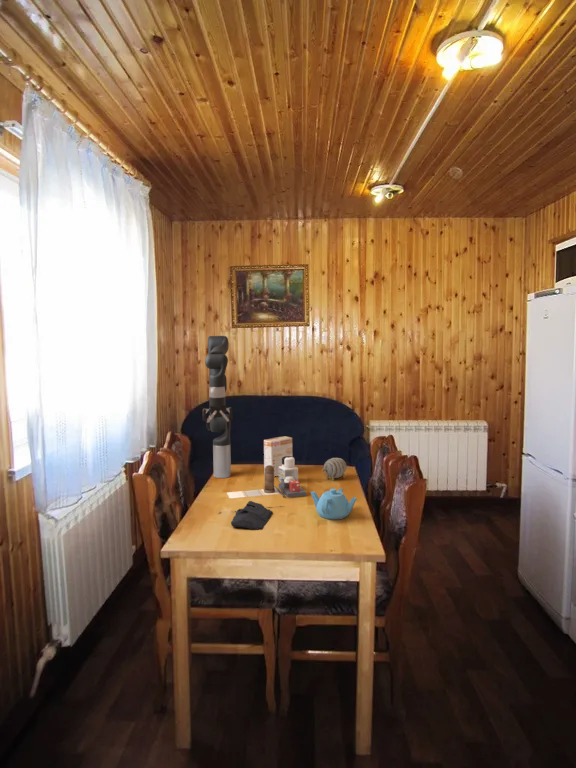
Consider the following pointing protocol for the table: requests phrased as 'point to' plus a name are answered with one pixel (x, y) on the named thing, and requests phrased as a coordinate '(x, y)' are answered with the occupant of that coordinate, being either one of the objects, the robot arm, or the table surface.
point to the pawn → (269, 479)
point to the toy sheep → (334, 468)
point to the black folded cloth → (252, 516)
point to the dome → (289, 479)
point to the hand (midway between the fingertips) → (217, 429)
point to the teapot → (333, 504)
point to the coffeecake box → (276, 452)
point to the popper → (292, 488)
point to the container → (288, 468)
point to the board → (251, 493)
